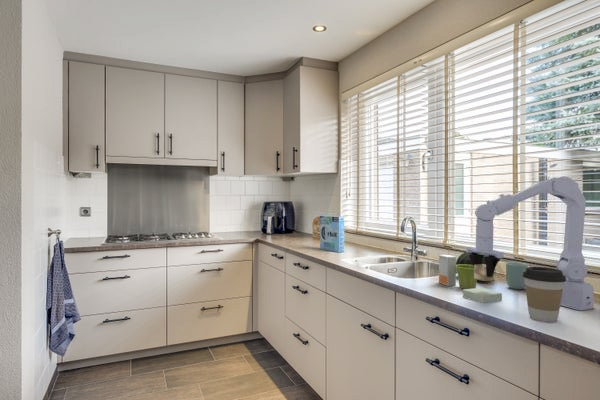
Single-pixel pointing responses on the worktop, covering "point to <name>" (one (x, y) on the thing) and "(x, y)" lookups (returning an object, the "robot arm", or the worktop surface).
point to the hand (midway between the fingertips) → (483, 275)
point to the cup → (515, 275)
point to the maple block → (481, 273)
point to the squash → (467, 260)
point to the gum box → (332, 233)
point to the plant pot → (466, 276)
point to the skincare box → (447, 270)
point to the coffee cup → (544, 292)
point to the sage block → (482, 295)
